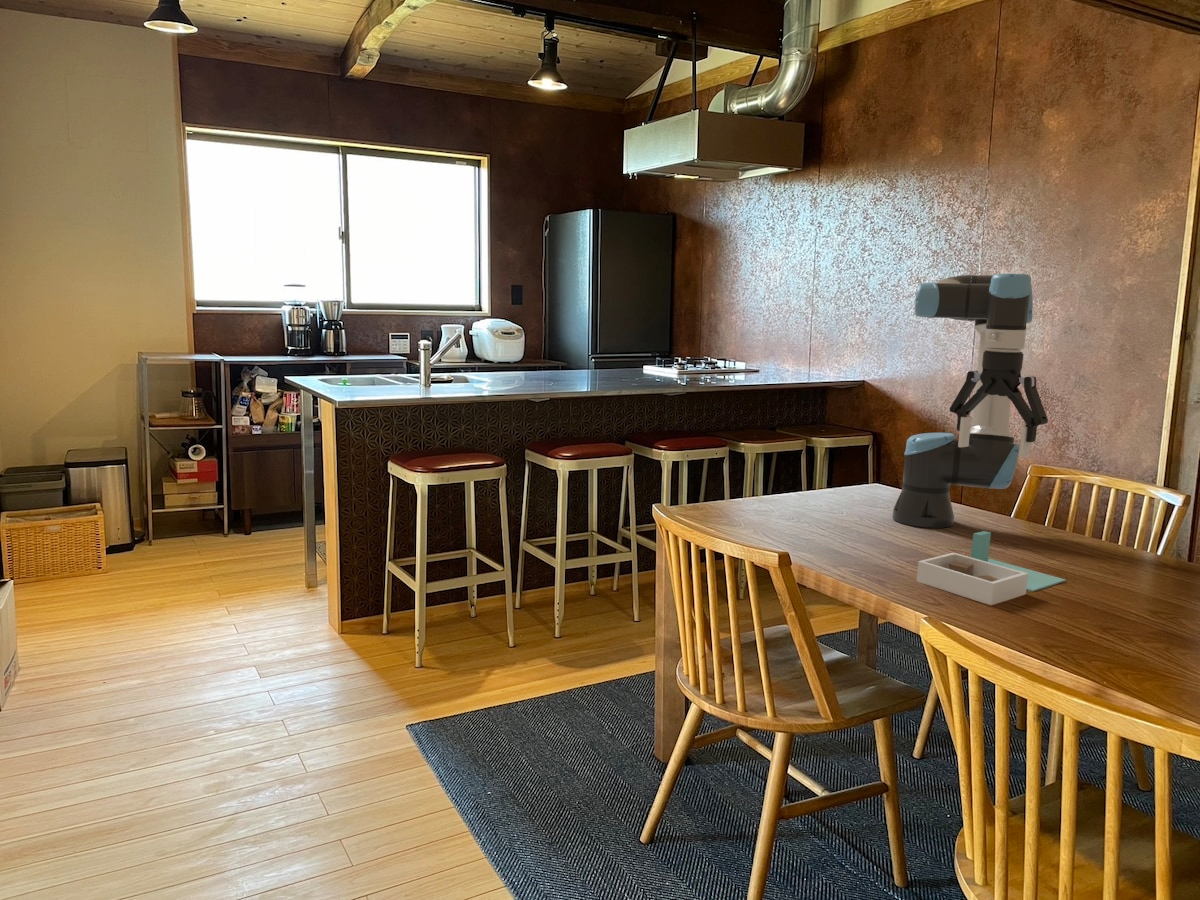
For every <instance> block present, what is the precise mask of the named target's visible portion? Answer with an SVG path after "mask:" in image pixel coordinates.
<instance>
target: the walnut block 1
mask: <svg viewBox="0 0 1200 900" xmlns="http://www.w3.org/2000/svg"><path fill="white" fill-rule="evenodd" d="M973 567H974V564H969V563H965V562H961V561H954V562H952V563H950V564H949V569H950V570H954V571H957V572H961V573H964V574H967V575H971V576H973Z"/></svg>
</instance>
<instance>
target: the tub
mask: <svg viewBox="0 0 1200 900" xmlns="http://www.w3.org/2000/svg"><path fill="white" fill-rule="evenodd" d="M954 561H961V562H965V563H969V564H974V567H973V576H971V575H967V574H964V573H961V572H957V571H954V570H950V569H949V564H950V563H952V562H954ZM984 575H989V576H992V577H994V578H997V579H999V580H996V581H993V582H991V581H987V580H984V579H981V578H977V577H974V576H984ZM1027 579H1028V573H1025V572H1021V571H1018V570H1014V569H1011V568H1007V567H1003V566H1000V565H996V564H993V563H989V562H986V561H982V560H978V559H975V558H971V556H969V555H968V556H967V555H963V554H960V553H957V552H951V553H947V554H946V553H945V554H942V555H938V556H934V557H931V558H927V559H923V560H922V559H921V560H918V563H917V573H916V582H917V583H920V584H922V585H926V586H930V587H932V588H935V589H937V590H938V589H939V590H942V591H944V592H948V593H950V594H954V595H956V596H957V595H958V596H960V597H963V598H966V599H969V600H973V601H975V602H978V603H982V604H985V605H989V606H994V605H998V604H1000V603H1002V602H1007V601H1011V600H1012V599H1017V598H1020V597H1022V596H1025V595H1027V590H1026V588H1027Z"/></svg>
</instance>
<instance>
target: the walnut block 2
mask: <svg viewBox="0 0 1200 900" xmlns="http://www.w3.org/2000/svg"><path fill="white" fill-rule="evenodd" d="M974 577H977V578H981V579H984V580H987V581H991V582H993V581H996V580H999V579H997V578H994V577H992V576H989V575H984V576H974Z"/></svg>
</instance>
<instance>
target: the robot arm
mask: <svg viewBox="0 0 1200 900" xmlns="http://www.w3.org/2000/svg"><path fill="white" fill-rule="evenodd" d="M914 301H915V302H914V314H915V316H917V317H920V318H927V319H932V318H933V319H950V320H955V321H964V322H965V321H966V322H969V321H970V322H974V330H976V332H977V333H978V334H979V336H980V337H979V347H978V357H977V358H978V359H977V366H976V367H977V369H976V370H969V371H968V372H967V373H966V377H965V382H963V385H962V387H961V389H960V390H959V392H958V393H957V395H956V396H955V398H954V401H953V402H952V404H951V405H950V407H949V412H950V413H954V414H955V415H957V418H956V419H957V421H956V431H958V432H959V435H958V439H956V435H955V434H954V433H953V432H952V433H951V432H924V433H917V434H914V435H911V436H909V438H907V440H906V444H905V445H906V446H905V451H904V453H903V454H904V466H903V472H902V473H903V475H902V485H901V492H900V493H899V496H898V498H897V499H896V500H897V501H896V503H895V505H894V507H893V510H892V519H893V520H894V521H895V522H897V523H901V524H904V525H908V526H913V527H917V528H919V527H920V528H927V529H929V528H930V529H940V528H941V529H942V528H943V529H945V528H950V527H953V526H954V523H955V513H954V510H953V506H952V505H953V504H952V501H951V497H950V491H951V490H950V489H951V485H952V486H953V485H954V486H961V487H962V486H963V487H973V488H983V489H988V490H989V489H999V490H1004V489H1007V488H1008V487H1010V486H1011V484H1012V480H1013V478H1014V474H1015V470H1016V468H1017V463H1018V460H1019V459H1026V458H1027V459H1028V458H1030V455H1031V448H1032V447H1031V445H1032V443H1034V442H1035V441H1036V439H1037V430H1038V429H1037V428H1038V426H1041V425H1046V424H1048V422H1049V419H1048V417H1047V414H1046V411H1045V409H1044V405H1043V403H1042V400H1041V397H1040V394H1039V391H1038V388H1037V377H1036V376H1032V375H1031V376H1024V377H1022V374H1021V373H1022V369H1023V362H1024V353H1023V352H1022V351H1021V350H1024V349H1025V347H1026V346H1025V345H1026V337H1027V336H1026V335H1027V324H1029V323H1032V321H1033V307H1034V306H1033V304H1034V302H1033V289H1032V277H1031V275H1030V274H1027V273H996V274H993V275H991V274H990V275H982V274H980V275H978V274H977V275H975V274H974V275H971V274H970V275H969V274H962V275H956V276H950V277H946V278H943V279H939V280H937V281H934V282H931V281H930V282H922V283H919V284H917V286H916V291H915V300H914ZM1020 385H1021V386H1022V388H1023V390H1024V393H1025V396H1026V398H1027V401H1028V403H1027V401H1026V400H1025V398H1024V397H1023V394H1022V391H1021V390H1020V389H1019V386H1020ZM973 390H974V394H973V395H972V396H971V397H970V395H971V394H972V392H973ZM969 397H970V398H969ZM1011 404H1013V406H1014V407H1015V409H1016V411H1017V412H1018V414H1019V415H1020V416H1021V419H1022V420H1023V421H1024V423H1025V425H1022V426H1021V434H1020V443H1019V444H1018V443H1015V436H1014V435H1013V434H1012V432H1010V429H1009V426H1010V416H1011ZM971 412H972V416H970V413H971Z"/></svg>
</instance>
